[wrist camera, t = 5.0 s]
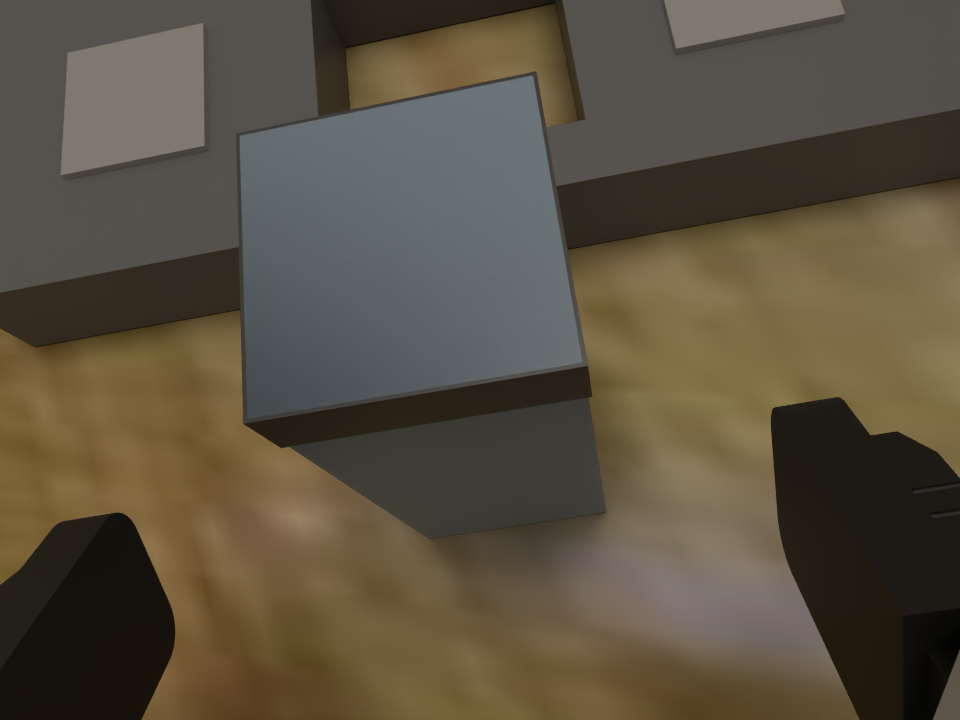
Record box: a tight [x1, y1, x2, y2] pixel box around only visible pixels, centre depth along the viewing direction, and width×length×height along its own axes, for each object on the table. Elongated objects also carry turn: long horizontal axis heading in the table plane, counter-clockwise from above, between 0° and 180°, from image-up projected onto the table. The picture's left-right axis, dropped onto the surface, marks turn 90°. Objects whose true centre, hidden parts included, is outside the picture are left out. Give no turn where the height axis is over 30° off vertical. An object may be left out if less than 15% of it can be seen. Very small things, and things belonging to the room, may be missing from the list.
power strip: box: [0, 0, 960, 347], centre depth 22 cm, size 28×9×4 cm, turn 97°
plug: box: [236, 72, 606, 539], centre depth 15 cm, size 4×4×10 cm
